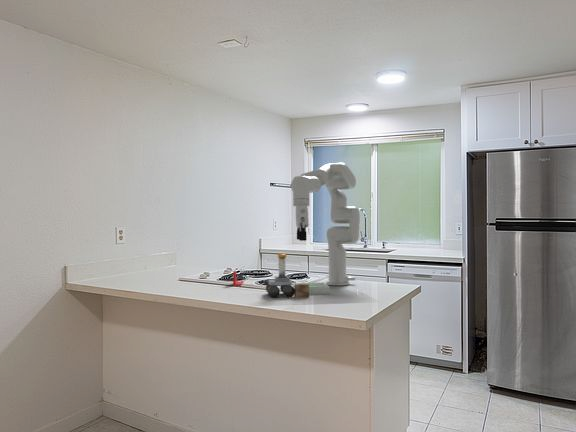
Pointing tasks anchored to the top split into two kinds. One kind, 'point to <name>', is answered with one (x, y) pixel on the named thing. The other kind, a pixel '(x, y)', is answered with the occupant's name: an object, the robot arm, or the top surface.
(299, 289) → the chock
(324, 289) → the tray
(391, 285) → the top surface
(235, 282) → the bracket
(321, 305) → the top surface
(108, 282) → the top surface
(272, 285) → the trolley
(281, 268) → the pin
